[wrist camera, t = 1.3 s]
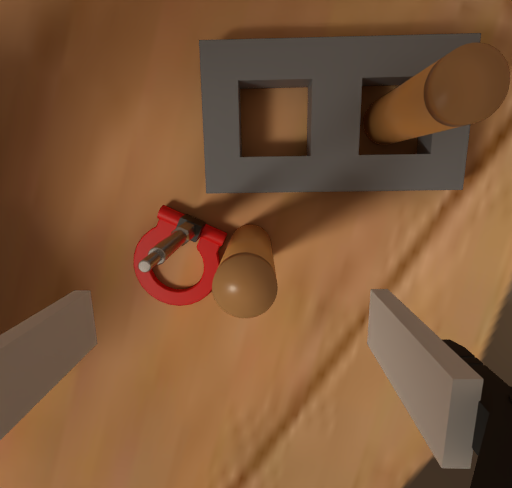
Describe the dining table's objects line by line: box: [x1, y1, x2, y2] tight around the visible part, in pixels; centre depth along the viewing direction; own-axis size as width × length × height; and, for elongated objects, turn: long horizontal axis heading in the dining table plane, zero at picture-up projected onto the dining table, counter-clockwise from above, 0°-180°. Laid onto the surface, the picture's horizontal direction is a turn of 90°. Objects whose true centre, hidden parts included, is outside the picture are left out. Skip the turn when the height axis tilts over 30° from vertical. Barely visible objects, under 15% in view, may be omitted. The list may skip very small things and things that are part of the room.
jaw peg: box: [212, 224, 277, 318], centre depth 25 cm, size 4×4×12 cm
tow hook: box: [134, 205, 227, 306], centre depth 26 cm, size 8×13×9 cm
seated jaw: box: [363, 43, 510, 145], centre depth 23 cm, size 4×4×12 cm
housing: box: [199, 33, 481, 193], centre depth 28 cm, size 22×12×2 cm, turn 91°
